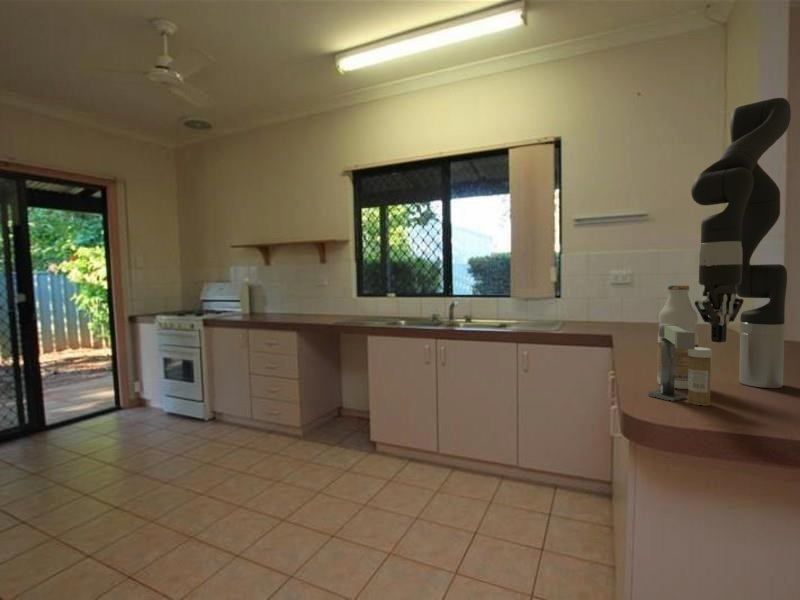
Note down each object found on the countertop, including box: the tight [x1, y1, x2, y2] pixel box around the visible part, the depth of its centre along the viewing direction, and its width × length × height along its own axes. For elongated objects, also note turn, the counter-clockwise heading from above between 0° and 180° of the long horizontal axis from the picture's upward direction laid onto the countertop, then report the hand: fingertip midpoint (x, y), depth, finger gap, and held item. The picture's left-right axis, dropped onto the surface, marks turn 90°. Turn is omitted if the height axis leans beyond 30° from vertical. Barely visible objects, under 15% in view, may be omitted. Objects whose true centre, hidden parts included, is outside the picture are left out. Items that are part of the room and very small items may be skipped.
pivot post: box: [648, 338, 687, 402], centre depth 106 cm, size 6×6×15 cm
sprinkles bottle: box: [687, 346, 713, 407], centre depth 100 cm, size 5×5×14 cm
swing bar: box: [658, 323, 695, 350], centre depth 99 cm, size 20×4×4 cm, turn 158°
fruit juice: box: [656, 284, 699, 390], centre depth 117 cm, size 9×9×28 cm
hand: (718, 341), depth 93 cm, fingers closed
